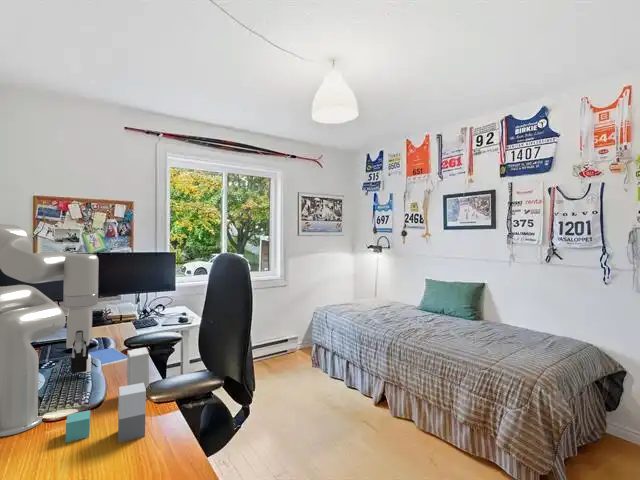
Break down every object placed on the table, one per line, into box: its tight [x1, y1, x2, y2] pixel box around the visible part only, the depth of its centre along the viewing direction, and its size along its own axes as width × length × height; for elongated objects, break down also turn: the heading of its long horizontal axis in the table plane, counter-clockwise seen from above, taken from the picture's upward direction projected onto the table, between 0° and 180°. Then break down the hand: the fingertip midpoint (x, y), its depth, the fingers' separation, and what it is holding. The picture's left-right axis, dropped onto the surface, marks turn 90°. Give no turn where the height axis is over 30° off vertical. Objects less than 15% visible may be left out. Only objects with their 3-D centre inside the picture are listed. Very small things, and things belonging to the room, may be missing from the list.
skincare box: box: [126, 347, 150, 401], centre depth 114 cm, size 8×6×15 cm
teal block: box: [65, 409, 91, 443], centre depth 91 cm, size 5×5×5 cm
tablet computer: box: [88, 347, 127, 367], centre depth 148 cm, size 19×13×1 cm, turn 50°
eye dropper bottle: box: [81, 354, 92, 373], centre depth 128 cm, size 4×6×12 cm
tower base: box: [117, 410, 146, 444], centre depth 92 cm, size 6×6×6 cm
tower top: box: [118, 383, 147, 419], centre depth 92 cm, size 6×6×6 cm
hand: (80, 366), depth 91 cm, fingers open, 9 cm apart
